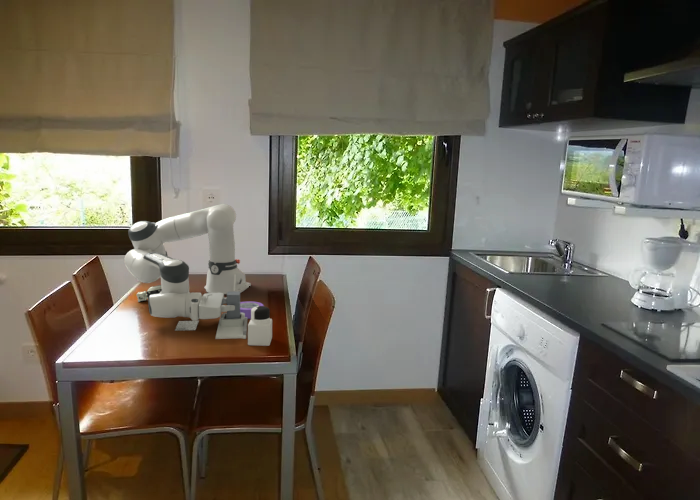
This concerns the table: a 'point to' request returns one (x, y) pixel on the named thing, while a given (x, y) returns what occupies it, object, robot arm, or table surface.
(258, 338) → the medicine bottle
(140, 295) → the pneumatic valve
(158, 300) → the robot arm
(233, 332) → the holder
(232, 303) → the clip
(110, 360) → the table surface
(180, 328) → the grey rectangular plate
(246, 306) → the masking tape
